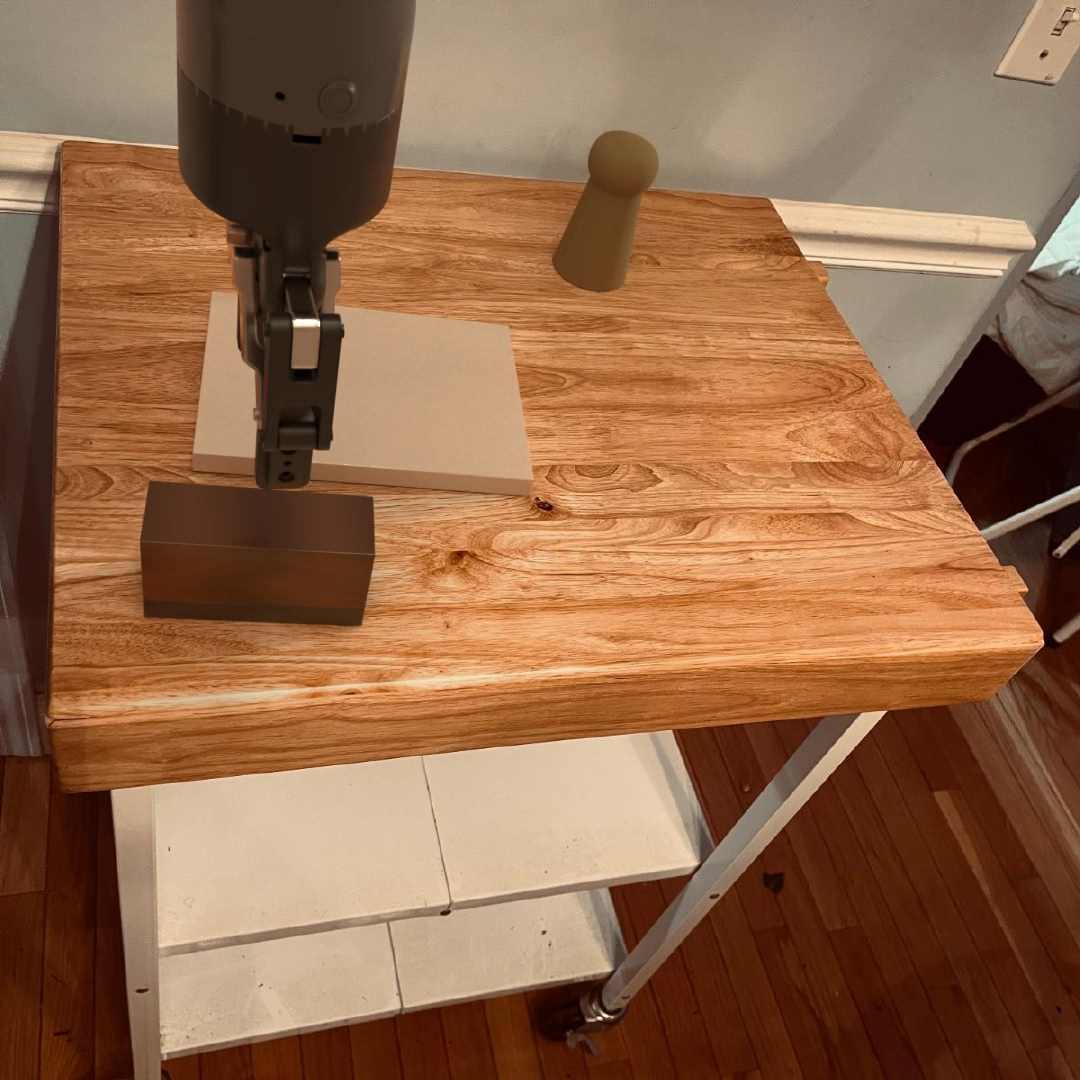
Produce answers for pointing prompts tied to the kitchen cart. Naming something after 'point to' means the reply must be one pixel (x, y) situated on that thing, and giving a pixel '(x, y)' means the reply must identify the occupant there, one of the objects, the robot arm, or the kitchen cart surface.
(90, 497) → the kitchen cart surface
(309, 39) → the robot arm
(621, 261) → the olive brown pawn
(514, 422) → the tile
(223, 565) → the dark brown block
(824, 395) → the kitchen cart surface
